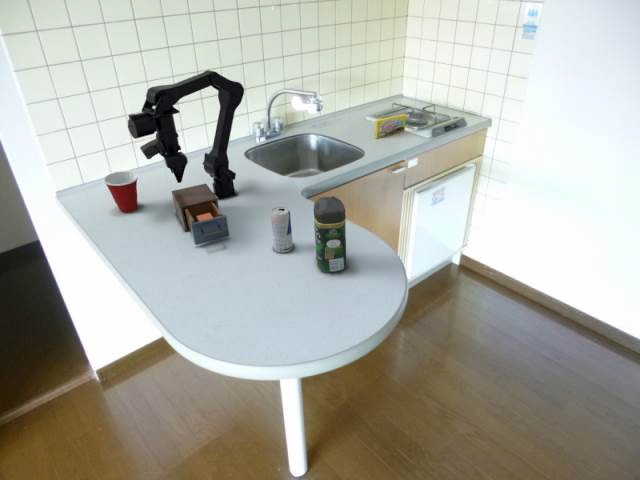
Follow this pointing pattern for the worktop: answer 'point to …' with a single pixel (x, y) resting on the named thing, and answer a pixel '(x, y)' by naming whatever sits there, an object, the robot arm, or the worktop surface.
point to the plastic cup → (123, 189)
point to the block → (204, 217)
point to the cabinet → (191, 200)
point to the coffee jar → (330, 234)
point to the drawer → (206, 223)
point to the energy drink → (281, 229)
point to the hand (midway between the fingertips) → (176, 177)
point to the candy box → (390, 126)
